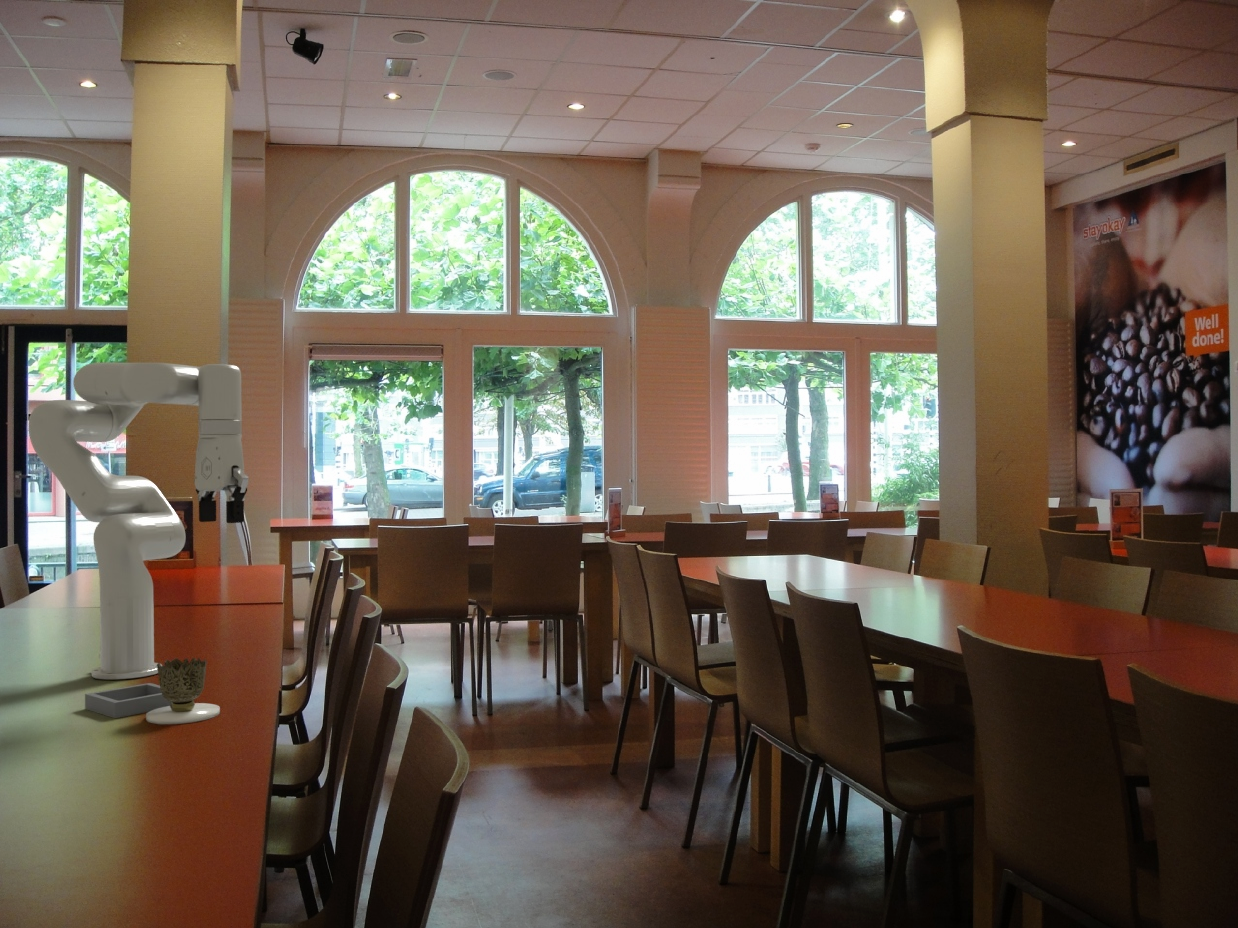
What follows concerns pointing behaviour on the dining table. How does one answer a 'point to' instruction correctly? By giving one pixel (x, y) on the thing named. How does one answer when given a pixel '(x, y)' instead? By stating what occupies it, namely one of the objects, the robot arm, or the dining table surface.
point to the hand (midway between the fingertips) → (221, 522)
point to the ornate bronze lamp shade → (182, 682)
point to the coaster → (183, 714)
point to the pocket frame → (126, 700)
